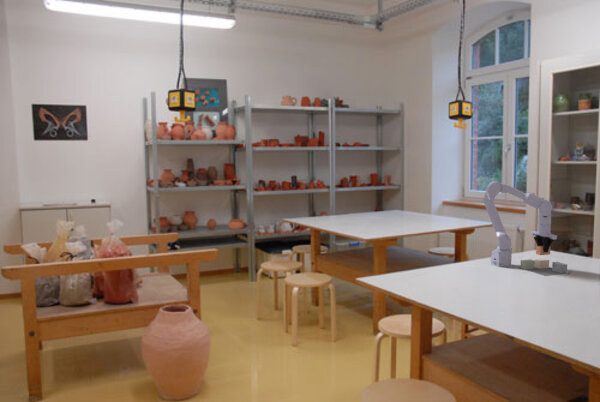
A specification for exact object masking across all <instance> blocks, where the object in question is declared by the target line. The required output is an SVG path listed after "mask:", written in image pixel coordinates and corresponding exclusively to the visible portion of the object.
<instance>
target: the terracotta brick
mask: <svg viewBox="0 0 600 402" xmlns="http://www.w3.org/2000/svg"><path fill="white" fill-rule="evenodd" d="M535 254H536V255H538V256H546V255H547V256H548V255H551V246H550V247H549V250H548V252H544V251H543V246H537V245H536V246H535Z"/></svg>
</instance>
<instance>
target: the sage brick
mask: <svg viewBox="0 0 600 402" xmlns="http://www.w3.org/2000/svg"><path fill="white" fill-rule="evenodd" d="M520 268H522V269H521V270H524V269H535V260H534V259H521V260H520V267H519V269H520Z"/></svg>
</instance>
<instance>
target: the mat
mask: <svg viewBox="0 0 600 402" xmlns="http://www.w3.org/2000/svg"><path fill="white" fill-rule="evenodd" d="M519 269H521V270H524V271H527V272H530V273H534V274H537V275H540V276H542V277H543V276H544V277H549V276H559V275H560V276H561V275H569V274H571V273H569V272H567V273H560V272H557V271H553V270H552V267H549V268H542V269H539V268H535V269H522V268H520V267H519Z"/></svg>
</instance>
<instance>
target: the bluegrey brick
mask: <svg viewBox="0 0 600 402" xmlns="http://www.w3.org/2000/svg"><path fill="white" fill-rule="evenodd" d="M551 268H552V270H553V271H557V272H560V273H568V264H566V263H563V262H559V261H553V262H552V265H551Z"/></svg>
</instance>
